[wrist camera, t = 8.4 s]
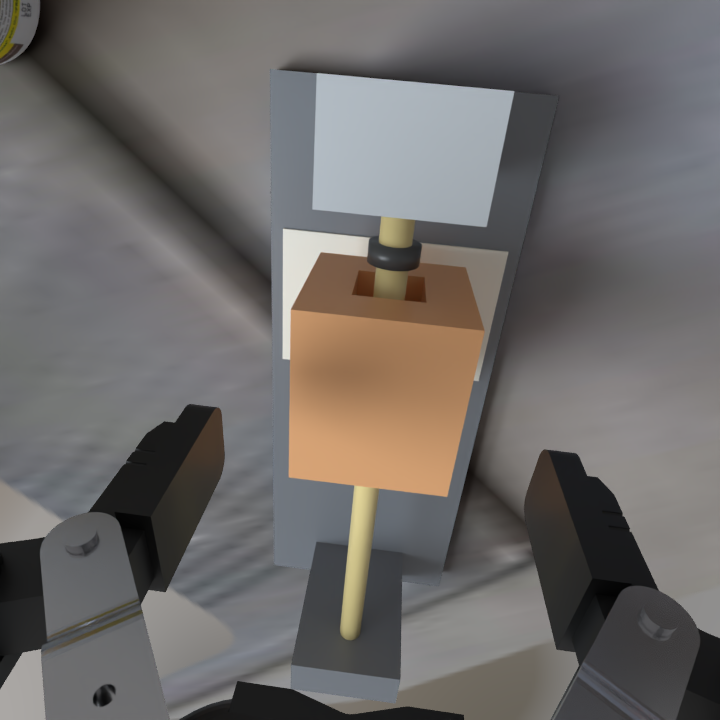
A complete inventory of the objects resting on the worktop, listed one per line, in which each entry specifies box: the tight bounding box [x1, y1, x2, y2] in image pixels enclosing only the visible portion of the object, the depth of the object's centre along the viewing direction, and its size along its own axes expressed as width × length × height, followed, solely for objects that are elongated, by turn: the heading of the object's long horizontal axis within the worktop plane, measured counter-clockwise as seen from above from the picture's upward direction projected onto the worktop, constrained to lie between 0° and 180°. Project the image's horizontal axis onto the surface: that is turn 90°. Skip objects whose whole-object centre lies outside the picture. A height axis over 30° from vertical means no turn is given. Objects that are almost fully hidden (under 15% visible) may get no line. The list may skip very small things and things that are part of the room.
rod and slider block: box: [270, 69, 559, 703], centre depth 21 cm, size 26×10×8 cm, turn 176°
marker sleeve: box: [289, 252, 485, 497], centre depth 17 cm, size 6×5×5 cm
